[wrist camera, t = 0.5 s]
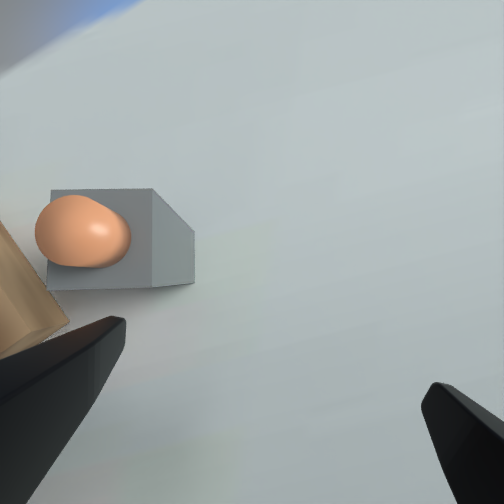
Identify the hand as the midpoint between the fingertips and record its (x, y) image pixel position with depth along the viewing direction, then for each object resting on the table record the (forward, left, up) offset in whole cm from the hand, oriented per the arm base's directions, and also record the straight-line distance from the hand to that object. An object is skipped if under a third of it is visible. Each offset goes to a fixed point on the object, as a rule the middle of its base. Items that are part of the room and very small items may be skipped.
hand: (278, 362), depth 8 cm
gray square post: (-4, +7, -15) cm, 17 cm away
